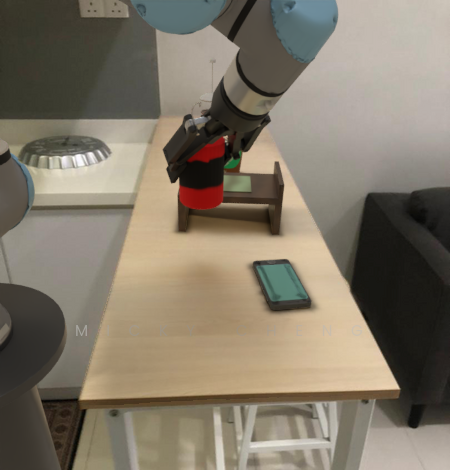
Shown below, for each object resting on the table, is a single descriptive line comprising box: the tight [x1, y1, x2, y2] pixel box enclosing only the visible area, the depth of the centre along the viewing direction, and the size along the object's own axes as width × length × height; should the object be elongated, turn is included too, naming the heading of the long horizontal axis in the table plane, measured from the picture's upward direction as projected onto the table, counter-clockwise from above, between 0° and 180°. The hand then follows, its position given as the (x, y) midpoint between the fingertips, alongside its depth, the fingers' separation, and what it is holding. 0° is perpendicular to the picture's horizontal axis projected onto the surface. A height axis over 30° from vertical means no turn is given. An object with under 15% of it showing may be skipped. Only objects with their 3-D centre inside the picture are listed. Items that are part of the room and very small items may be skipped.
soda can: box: [178, 135, 226, 211], centre depth 77 cm, size 8×8×12 cm
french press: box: [190, 57, 217, 119], centre depth 146 cm, size 10×12×25 cm
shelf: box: [177, 160, 285, 236], centre depth 104 cm, size 22×14×12 cm, turn 89°
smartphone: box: [252, 258, 312, 311], centre depth 85 cm, size 7×1×15 cm
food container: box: [224, 138, 244, 173], centre depth 125 cm, size 12×6×10 cm, turn 88°
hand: (192, 172), depth 81 cm, fingers closed on soda can, 7 cm apart
